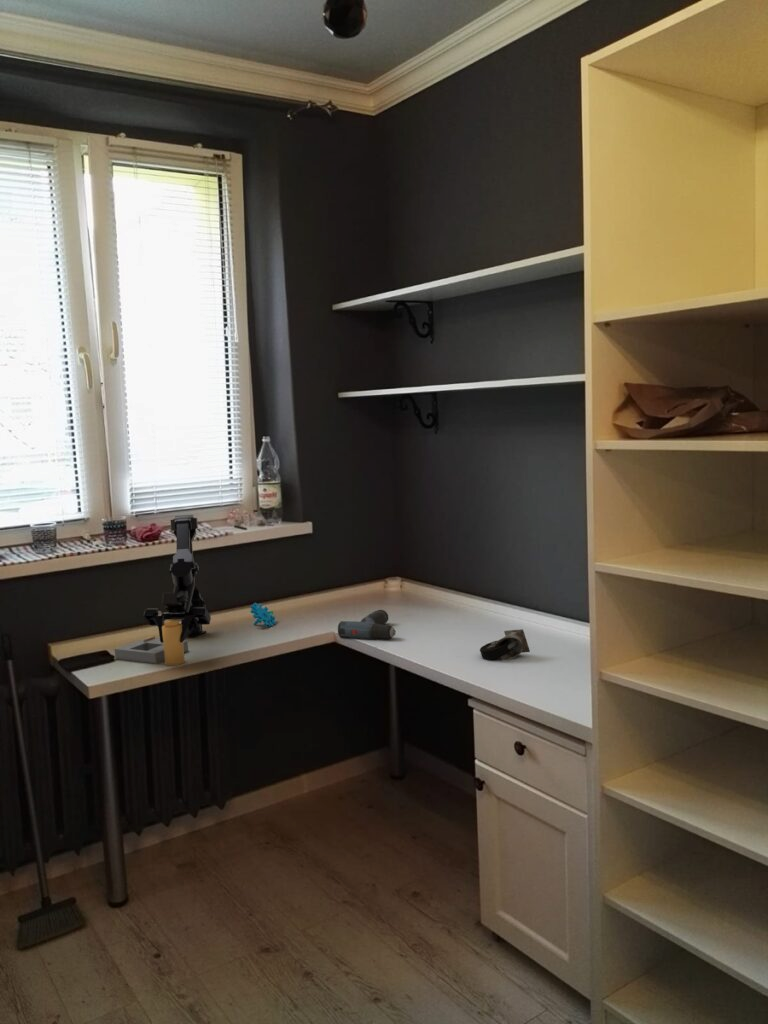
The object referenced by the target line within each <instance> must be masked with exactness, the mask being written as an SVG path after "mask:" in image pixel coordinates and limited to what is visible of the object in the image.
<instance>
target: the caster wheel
mask: <svg viewBox="0 0 768 1024" xmlns="http://www.w3.org/2000/svg"><path fill="white" fill-rule="evenodd" d="M503 632H504V637H502V638H499V640H493V641H491V642H489V643H486V644H484V645H483V646H481V647H480V648H479V652H480V655H481V658H482V659H483V660H485V661H486V660H494V659H498V658H499V659H501V660H504V661H505V660H506V661H510V660H513V659H515V658H516V657H517V656H519V655H520V654H522V653H531V652H530V651H531V650H530V647H529V644H528V641H527V640H528V639H527V638H526V634H525V632H524V629H510V630H504V631H503Z"/></svg>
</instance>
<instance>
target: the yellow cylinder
mask: <svg viewBox="0 0 768 1024" xmlns="http://www.w3.org/2000/svg"><path fill="white" fill-rule="evenodd" d="M179 620H180V619H166V620H165V621H164V625H163V626H162V635H163V646H164V658H165V660H164V665H165V664H166V665H165V666H168V665H174V666H179V664H180V665H183V664H185V663H186V661H185V659H186V658H185V652H184V645H183V642H180V637H181V633H182V624H181V622H179Z"/></svg>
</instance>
